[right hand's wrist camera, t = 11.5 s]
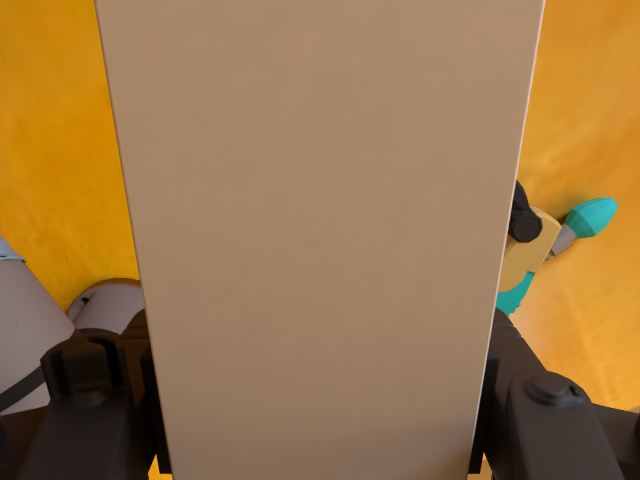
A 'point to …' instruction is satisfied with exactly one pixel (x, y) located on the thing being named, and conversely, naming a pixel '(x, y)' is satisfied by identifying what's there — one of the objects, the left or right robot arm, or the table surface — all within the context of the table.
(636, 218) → the table surface
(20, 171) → the table surface
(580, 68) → the table surface
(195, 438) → the beam
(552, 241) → the toy gun
